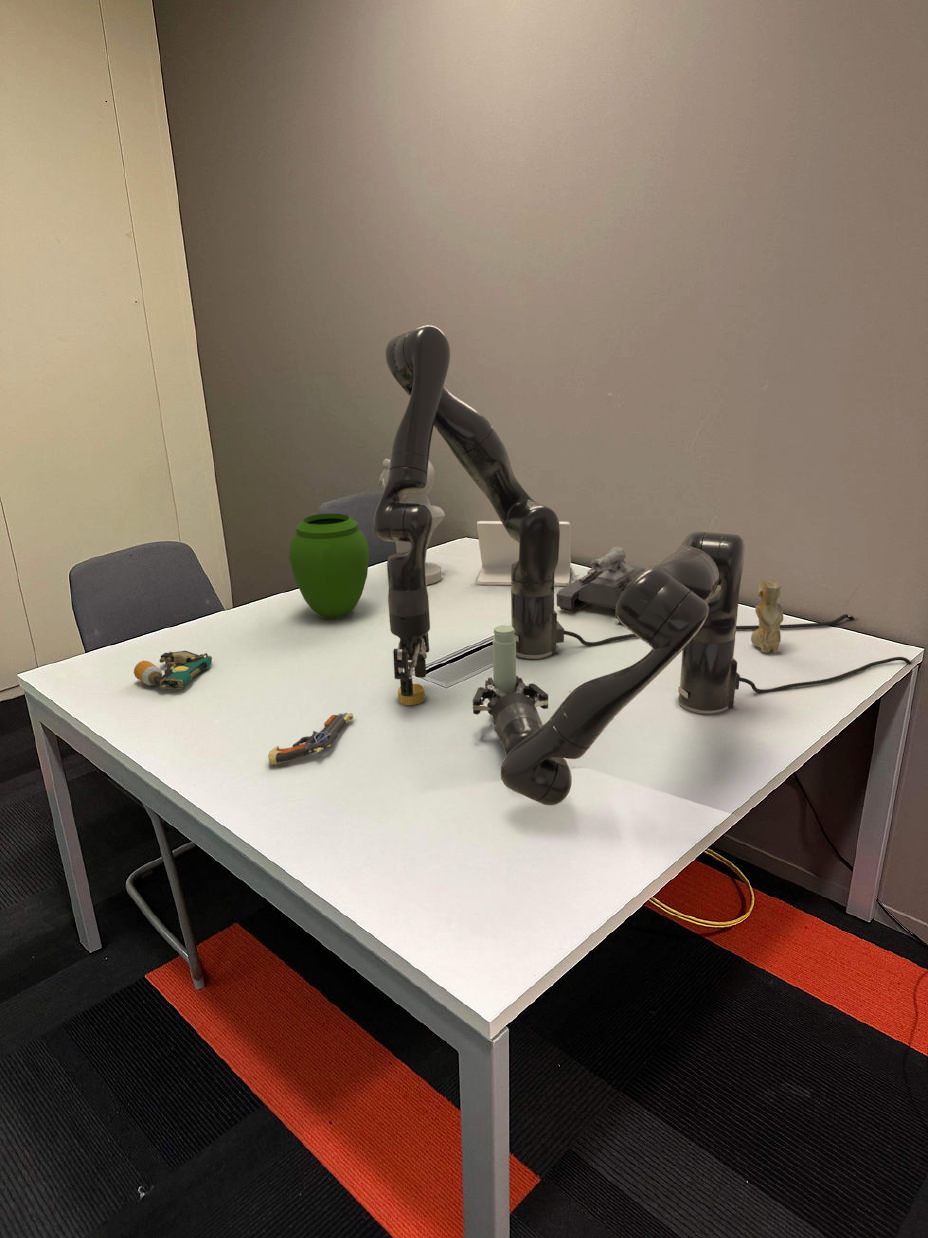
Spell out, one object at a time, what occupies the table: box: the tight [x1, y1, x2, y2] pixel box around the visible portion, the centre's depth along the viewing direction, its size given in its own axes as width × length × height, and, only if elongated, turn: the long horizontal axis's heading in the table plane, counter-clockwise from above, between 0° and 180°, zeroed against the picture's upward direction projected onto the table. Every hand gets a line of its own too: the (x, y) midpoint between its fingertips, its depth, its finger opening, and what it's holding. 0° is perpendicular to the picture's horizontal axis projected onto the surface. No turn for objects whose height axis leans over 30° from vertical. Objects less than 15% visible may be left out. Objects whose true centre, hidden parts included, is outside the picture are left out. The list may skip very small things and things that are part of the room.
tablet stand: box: [476, 520, 572, 587], centre depth 236 cm, size 18×25×17 cm
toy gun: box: [267, 712, 354, 765], centre depth 151 cm, size 3×19×10 cm
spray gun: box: [133, 650, 213, 690], centre depth 180 cm, size 4×17×15 cm
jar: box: [492, 624, 517, 693], centre depth 155 cm, size 4×4×18 cm
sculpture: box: [750, 579, 784, 653], centre depth 183 cm, size 6×7×15 cm
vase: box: [288, 512, 370, 620], centre depth 209 cm, size 20×20×24 cm
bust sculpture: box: [378, 458, 446, 586], centre depth 236 cm, size 16×24×35 cm, turn 28°
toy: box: [556, 546, 646, 621], centre depth 212 cm, size 25×20×15 cm
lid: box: [397, 683, 426, 706], centre depth 167 cm, size 5×5×2 cm
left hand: (414, 686), depth 166 cm, fingers open, 8 cm apart
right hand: (502, 681), depth 158 cm, fingers closed on jar, 4 cm apart
